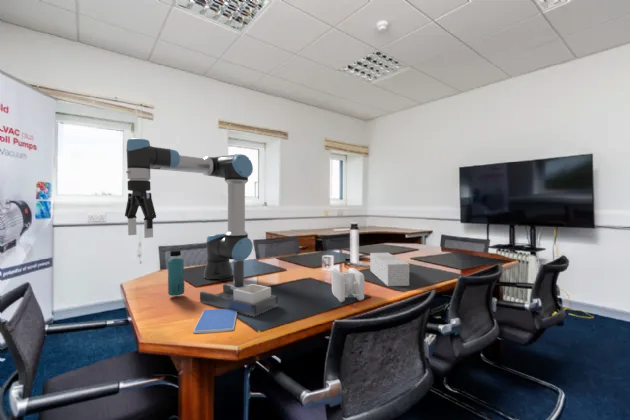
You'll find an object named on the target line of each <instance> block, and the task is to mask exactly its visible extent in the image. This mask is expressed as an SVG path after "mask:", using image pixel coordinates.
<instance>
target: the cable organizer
mask: <svg viewBox="0 0 630 420" xmlns="http://www.w3.org/2000/svg"><path fill="white" fill-rule="evenodd" d="M331 292H332V294H333V296H334V297H335V298H337V300H338V302H339V303H343V302H345V301H346V298H347V299H348V298H349V296H348V295H352V296H353V298H356V299H357V300H358V301H359V302H360V301H363V300H364V299H365V275H364V274H363V273H362V272H361V271H359V270H358V269H356V268H354V267H349V268H348V270H347V272H341V271H340V270H338V269H337V268H332V269H331Z"/></svg>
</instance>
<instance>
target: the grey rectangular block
mask: <svg viewBox="0 0 630 420" xmlns="http://www.w3.org/2000/svg"><path fill="white" fill-rule="evenodd" d="M369 254H370V255H369V258H370V259H369V261H370V262H369V264H370V265H369V267H370V268H369V271H370V272H371V273H372V274H374V275H375V276H376V277H377V278H378V279H379V280H380V281H381V282H383V284H385V285H386V286H387V287H396V286H397V287H404V286H405V287H407V286H410V263H408V262H406V261H404V260H402V259H400V258H399V257H397V256H395V255H394V254H391V253H390V252H370V253H369Z"/></svg>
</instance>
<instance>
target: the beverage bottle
mask: <svg viewBox="0 0 630 420" xmlns="http://www.w3.org/2000/svg"><path fill="white" fill-rule="evenodd" d="M181 252H182V251H181V250H180V249H179V250H178V249H175V250H171V251H170V254H169V255H170V257H171V258H170V259H169V260H167V274H168V275H167V284H168V285H167V289H168V290H167V293H168V295H169V296H170V297H171V296H173V297H174V296H181V295H183V294H184V293H185V291H186V290H185V288H186V287H185V268H184V267H185V266H184V259H183V258H181V256H182V253H181ZM179 256H180V257H179Z"/></svg>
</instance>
